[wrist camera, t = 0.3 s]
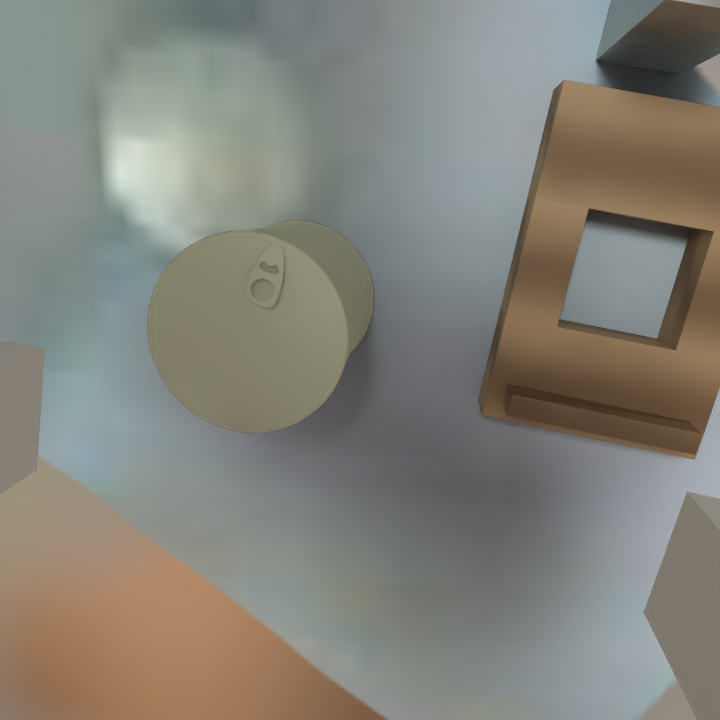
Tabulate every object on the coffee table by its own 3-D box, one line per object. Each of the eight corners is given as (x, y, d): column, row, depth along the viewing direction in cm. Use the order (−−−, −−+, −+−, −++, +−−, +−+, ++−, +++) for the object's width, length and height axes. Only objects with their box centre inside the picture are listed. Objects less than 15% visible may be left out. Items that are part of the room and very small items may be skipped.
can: (397, 254, 38) (379, 278, 27) (343, 392, 41) (306, 468, 29) (252, 197, 38) (173, 196, 27) (207, 338, 41) (117, 393, 29)
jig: (553, 89, 35) (572, 72, 30) (779, 129, 34) (834, 118, 30) (478, 399, 40) (484, 427, 35) (675, 440, 39) (709, 474, 34)
